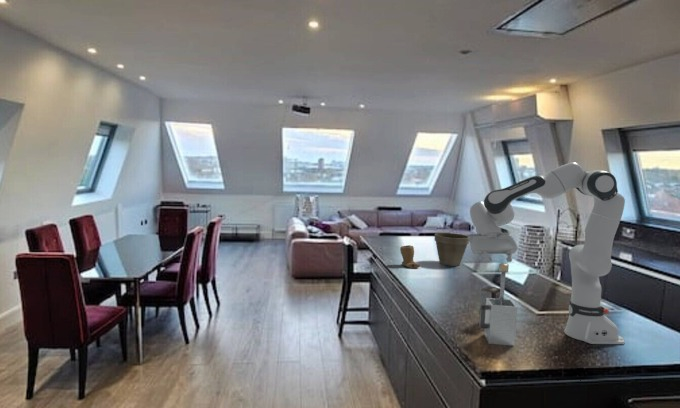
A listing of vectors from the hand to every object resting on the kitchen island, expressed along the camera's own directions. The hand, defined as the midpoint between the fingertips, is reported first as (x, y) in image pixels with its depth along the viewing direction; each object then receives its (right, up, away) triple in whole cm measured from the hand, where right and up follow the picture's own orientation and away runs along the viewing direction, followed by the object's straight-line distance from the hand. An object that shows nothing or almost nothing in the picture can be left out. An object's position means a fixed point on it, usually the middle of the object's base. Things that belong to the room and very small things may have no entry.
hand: (499, 261), depth 181 cm
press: (-2, -33, 0) cm, 33 cm away
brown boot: (-18, -21, +129) cm, 132 cm away
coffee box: (+2, -31, +20) cm, 37 cm away
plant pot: (+15, -21, +142) cm, 144 cm away
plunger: (0, -23, -1) cm, 23 cm away
